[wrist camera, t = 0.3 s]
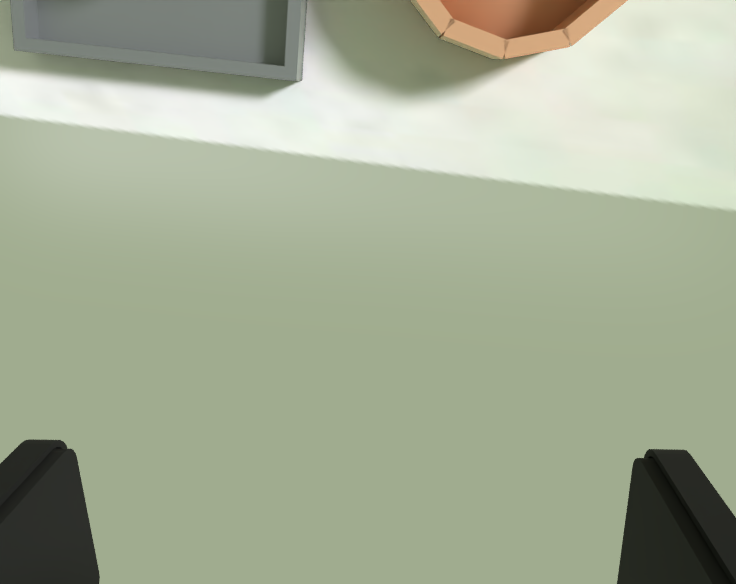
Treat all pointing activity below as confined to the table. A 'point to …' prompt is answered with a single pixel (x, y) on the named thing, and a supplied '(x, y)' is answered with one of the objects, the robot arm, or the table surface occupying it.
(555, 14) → the bowl
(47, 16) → the tray
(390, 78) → the table surface
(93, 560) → the robot arm
